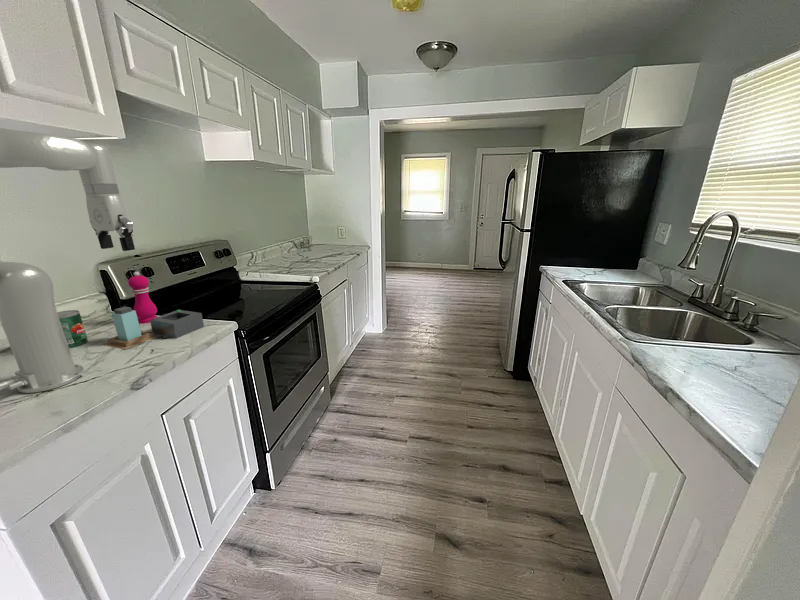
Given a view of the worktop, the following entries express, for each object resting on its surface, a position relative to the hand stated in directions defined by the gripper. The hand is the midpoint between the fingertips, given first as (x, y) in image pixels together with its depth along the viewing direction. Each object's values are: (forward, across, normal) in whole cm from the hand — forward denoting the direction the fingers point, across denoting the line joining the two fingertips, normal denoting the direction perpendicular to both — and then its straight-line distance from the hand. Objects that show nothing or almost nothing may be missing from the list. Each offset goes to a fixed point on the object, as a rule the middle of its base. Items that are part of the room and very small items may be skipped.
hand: (118, 249), depth 100 cm
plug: (+31, -3, -2) cm, 31 cm away
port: (+32, +4, +10) cm, 33 cm away
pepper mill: (+32, -16, +12) cm, 38 cm away
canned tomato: (+31, -18, -10) cm, 37 cm away
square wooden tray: (+31, -3, -2) cm, 32 cm away
